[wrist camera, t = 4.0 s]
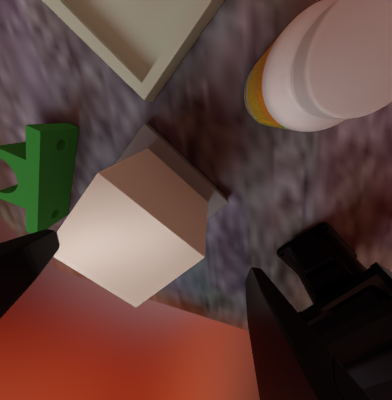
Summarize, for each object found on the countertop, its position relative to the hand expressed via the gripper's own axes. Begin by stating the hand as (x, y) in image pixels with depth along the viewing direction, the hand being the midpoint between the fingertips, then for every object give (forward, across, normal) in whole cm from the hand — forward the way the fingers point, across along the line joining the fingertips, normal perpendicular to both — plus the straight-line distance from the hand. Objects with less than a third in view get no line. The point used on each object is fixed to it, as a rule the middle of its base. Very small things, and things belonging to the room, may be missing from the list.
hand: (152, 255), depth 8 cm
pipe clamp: (+12, +14, +2) cm, 19 cm away
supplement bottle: (+12, -6, -9) cm, 16 cm away
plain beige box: (+12, +3, +3) cm, 12 cm away
